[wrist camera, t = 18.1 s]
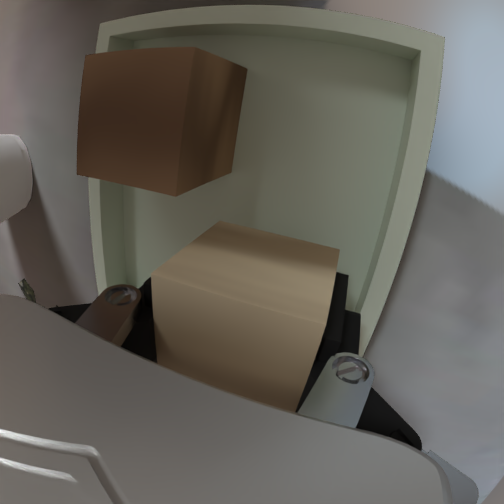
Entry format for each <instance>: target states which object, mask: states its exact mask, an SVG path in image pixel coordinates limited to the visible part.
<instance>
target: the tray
mask: <svg viewBox="0 0 504 504" xmlns="http://www.w3.org/2000/svg"><path fill="white" fill-rule="evenodd" d="M444 42H445V37H442V36H439V35H436V34H433V33H430V32H427V31H424V30H420V29H417V28H413V27H410V26H406V25H403V24H399V23H395V22H391V21H386V20H382V19H378V18H373V17H368V16H363V15H358V14H352V13H346V12H339V11H332V10H325V9H316V8H306V7H295V6H278V5H220V6H204V7H192V8H182V9H174V10H166V11H159V12H153V13H147V14H141V15H136V16H130V17H126V18H121V19H116V20H112V21H108V22H104V23H100V27H99V33H98V39H97V45H96V52H95V54H96V53H104V52H112V51H121V50H131V49H144V48H162V47H197V48H199V49H202V50H204V51H207V52H209V53H212V54H214V55H217V56H219V57H222V58H224V59H226V60H229V61H231V62H233V63H236V64H238V65H240V66H242V67H245V68H247V69H248V70H247V76H246V82H245V88H244V94H243V100H242V106H241V113H240V119H239V125H238V132H237V138H236V145H235V151H234V158H233V165H232V172H231V173H229V174H227V175H225V176H222V177H220V178H218V179H215V180H213V181H211V182H208V183H206V184H204V185H201V186H199V187H197V188H194V189H192V190H190V191H188V192H186V193H183V194H181V195H179V196H177V197H175V196H170V195H166V194H162V193H158V192H153V191H149V190H145V189H140V188H136V187H132V186H127V185H123V184H118V183H114V182H109V181H105V180H100V179H95V178H91V177H88V184H89V208H90V224H91V237H92V248H93V257H94V266H95V274H96V282H97V289H98V295H100V294H101V293H102V292H103V291H104V290H105V289H106V288H108V287H110V286H113V285H118V284H126V285H131V286H134V287H136V288H140V287H141V286H142V285H143V284H144V282H145V281H146V280H147V279H148V278H150V277H151V273H152V272H153V271H155V270H156V269H157V268H158V267H160V266H161V265H162V264H164V263H165V262H166V261H167V260H169V259H170V258H171V257H173V256H174V255H175V254H176V253H178V252H179V251H180V250H182V249H183V248H184V247H186V246H187V245H188V244H189V243H191V242H192V241H193V240H195V239H196V238H197V237H199V236H200V235H201V234H203V233H204V232H205V231H207V230H208V229H209V228H211V227H212V226H213V225H215V224H216V223H217V222H219V221H223V222H228V223H232V224H236V225H241V226H245V227H249V228H254V229H258V230H262V231H266V232H271V233H275V234H279V235H283V236H287V237H291V238H296V239H300V240H304V241H308V242H312V243H316V244H320V245H324V246H328V247H332V248H336V249H340V253H339V259H338V265H337V270H336V272H339V273H343V274H346V275H349V279H348V289H347V298H346V307H345V310H349V311H353V312H357V313H360V314H361V325H360V342H359V356H361V357H362V356H363V354H364V352H365V350H366V348H367V345H368V343H369V341H370V338H371V336H372V334H373V331H374V329H375V327H376V324H377V322H378V319H379V317H380V314H381V312H382V309H383V307H384V304H385V302H386V299H387V296H388V294H389V291H390V288H391V286H392V283H393V280H394V277H395V274H396V271H397V269H398V266H399V263H400V260H401V257H402V254H403V251H404V247H405V244H406V241H407V238H408V235H409V231H410V228H411V224H412V221H413V218H414V214H415V210H416V207H417V203H418V199H419V195H420V191H421V187H422V183H423V179H424V175H425V171H426V166H427V161H428V157H429V152H430V147H431V142H432V137H433V132H434V126H435V120H436V114H437V107H438V101H439V93H440V84H441V77H442V67H443V56H444Z"/></svg>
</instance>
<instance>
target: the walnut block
mask: <svg viewBox="0 0 504 504" xmlns="http://www.w3.org/2000/svg"><path fill="white" fill-rule="evenodd" d="M247 70H248V69H247V68H245V67H242V66H240V65H238V64H236V63H233V62H231V61H229V60H226V59H224V58H222V57H219V56H217V55H214V54H212V53H209V52H207V51H204V50H202V49H199V48H197V47H162V48H144V49H131V50H121V51H112V52H104V53H96V54H90V55H86V56H85V63H84V70H83V78H82V86H81V96H80V107H79V120H78V138H77V175H81V176H86V177H91V178H95V179H100V180H105V181H109V182H114V183H118V184H123V185H127V186H132V187H136V188H140V189H145V190H149V191H153V192H158V193H162V194H166V195H170V196H175V197H177V196H179V195H181V194H183V193H186V192H188V191H190V190H192V189H194V188H197V187H199V186H201V185H204V184H206V183H208V182H211V181H213V180H215V179H218V178H220V177H222V176H225V175H227V174H229V173H231V172H232V165H233V158H234V151H235V145H236V138H237V132H238V125H239V119H240V113H241V106H242V100H243V94H244V88H245V82H246V76H247Z"/></svg>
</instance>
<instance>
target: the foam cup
mask: <svg viewBox="0 0 504 504" xmlns="http://www.w3.org/2000/svg"><path fill="white" fill-rule="evenodd" d="M32 186H33V176H32V164H31V160H30V157H29V154H28V150H27V147H26V146H25V144H24V143H23V141H22V140H21V138H20V137H19V136H16V135H13V134H9V135H6V134H0V224H1V223H2V222H4V221H5V220H7V219H8V218H10V217H12V216H13V215H15V214H16V213H18V212H20V211H21V209H24V208H26V206H27V204H28V203H29V201H30V199H31V194H32Z"/></svg>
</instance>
